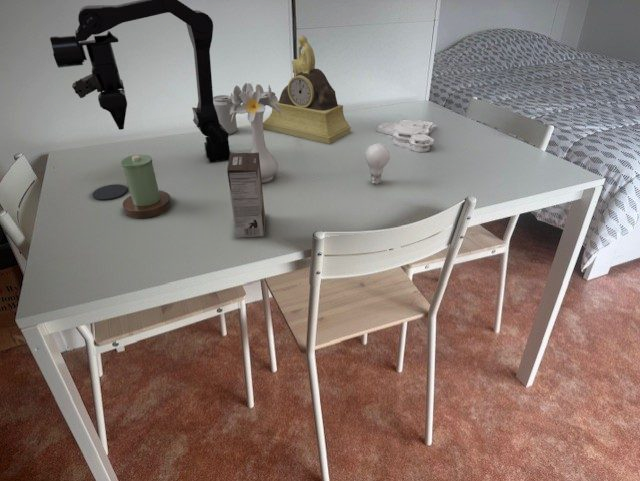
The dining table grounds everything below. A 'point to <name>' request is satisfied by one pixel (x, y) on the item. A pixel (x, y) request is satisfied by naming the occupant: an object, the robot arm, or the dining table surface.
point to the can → (225, 113)
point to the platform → (147, 207)
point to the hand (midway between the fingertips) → (120, 124)
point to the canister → (141, 179)
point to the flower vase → (256, 122)
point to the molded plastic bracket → (410, 134)
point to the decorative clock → (308, 103)
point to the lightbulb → (377, 160)
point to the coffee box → (246, 194)
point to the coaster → (109, 192)
